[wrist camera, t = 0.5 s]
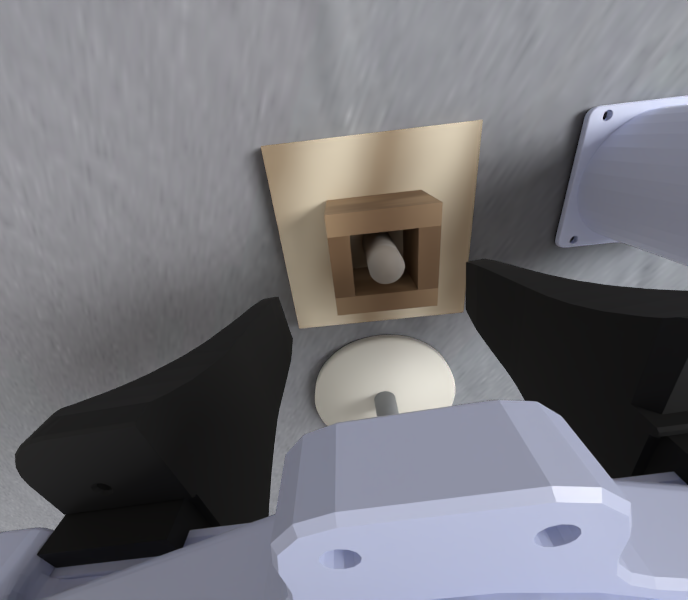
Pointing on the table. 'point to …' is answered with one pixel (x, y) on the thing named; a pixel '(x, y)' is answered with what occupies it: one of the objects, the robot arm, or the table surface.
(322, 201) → the birch stand
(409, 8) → the table surface
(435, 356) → the cream plate
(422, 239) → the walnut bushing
